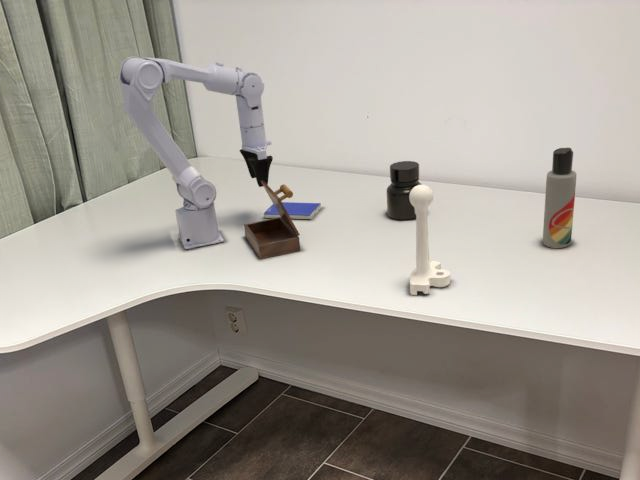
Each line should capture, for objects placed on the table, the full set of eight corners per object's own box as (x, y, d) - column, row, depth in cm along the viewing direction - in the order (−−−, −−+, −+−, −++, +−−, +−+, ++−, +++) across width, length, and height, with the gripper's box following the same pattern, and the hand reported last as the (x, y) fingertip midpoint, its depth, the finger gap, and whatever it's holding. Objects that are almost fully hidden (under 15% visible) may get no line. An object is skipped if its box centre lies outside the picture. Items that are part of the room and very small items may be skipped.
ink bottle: (426, 219, 183) (426, 169, 177) (389, 223, 184) (387, 173, 178) (421, 205, 192) (420, 157, 186) (385, 209, 192) (383, 161, 186)
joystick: (419, 270, 159) (416, 175, 149) (455, 272, 157) (455, 176, 147) (405, 294, 151) (401, 195, 141) (444, 297, 148) (443, 196, 138)
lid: (277, 199, 168) (293, 189, 168) (260, 181, 181) (275, 171, 181) (297, 236, 174) (313, 226, 173) (280, 215, 186) (295, 206, 186)
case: (260, 259, 174) (258, 245, 172) (245, 237, 186) (243, 224, 185) (300, 250, 175) (299, 237, 174) (283, 229, 188) (281, 216, 186)
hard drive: (263, 212, 195) (310, 213, 191) (275, 201, 202) (320, 202, 197) (264, 218, 196) (310, 220, 192) (276, 207, 202) (321, 208, 198)
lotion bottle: (572, 248, 161) (580, 152, 150) (543, 248, 162) (549, 153, 152) (569, 237, 165) (577, 144, 155) (541, 238, 167) (547, 145, 157)
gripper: (276, 128, 176) (283, 186, 183) (260, 116, 189) (267, 170, 195) (246, 134, 175) (254, 192, 182) (232, 121, 187) (240, 175, 194)
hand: (259, 181), depth 189 cm, fingers open, 7 cm apart
